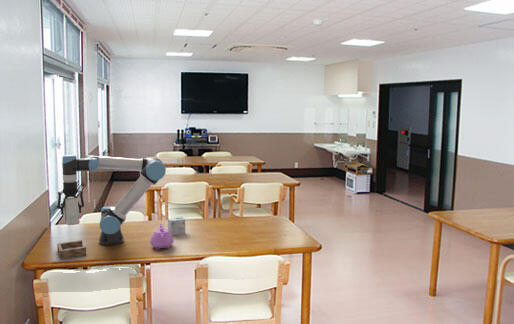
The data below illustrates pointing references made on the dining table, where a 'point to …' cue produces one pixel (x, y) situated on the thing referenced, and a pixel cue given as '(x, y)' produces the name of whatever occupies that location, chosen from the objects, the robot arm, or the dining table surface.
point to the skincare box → (71, 211)
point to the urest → (71, 249)
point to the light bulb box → (176, 226)
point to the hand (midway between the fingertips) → (71, 219)
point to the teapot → (161, 238)
